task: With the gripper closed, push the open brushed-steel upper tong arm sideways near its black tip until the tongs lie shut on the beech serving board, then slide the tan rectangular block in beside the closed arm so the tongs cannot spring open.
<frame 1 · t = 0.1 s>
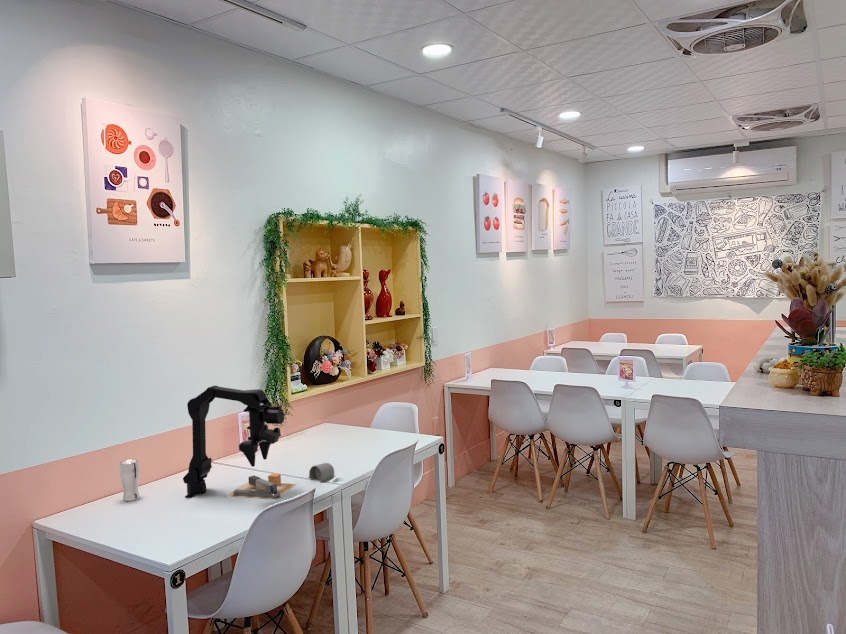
hand: (259, 462, 250), 15 cm above the table, tool pointing down, fingers open, 9 cm apart
ceramic mug: (319, 481, 272), on the table
tongs upper: (262, 483, 257), point 4 cm above the table, hinge at 30.0°
serving board: (262, 492, 259), on the table
tongs lower: (275, 496, 250), resting on serving board
tan rectangular block: (274, 479, 265), point 3 cm above the table, slide at 0.0 cm
beer glass: (131, 499, 257), on the table
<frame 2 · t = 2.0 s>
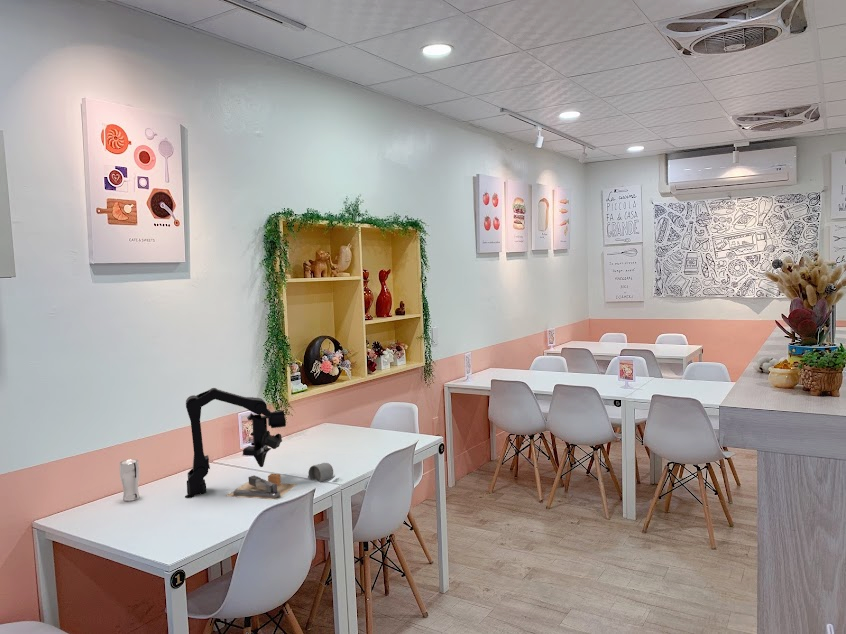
hand: (261, 466, 267), 8 cm above the table, tool pointing down, fingers closed
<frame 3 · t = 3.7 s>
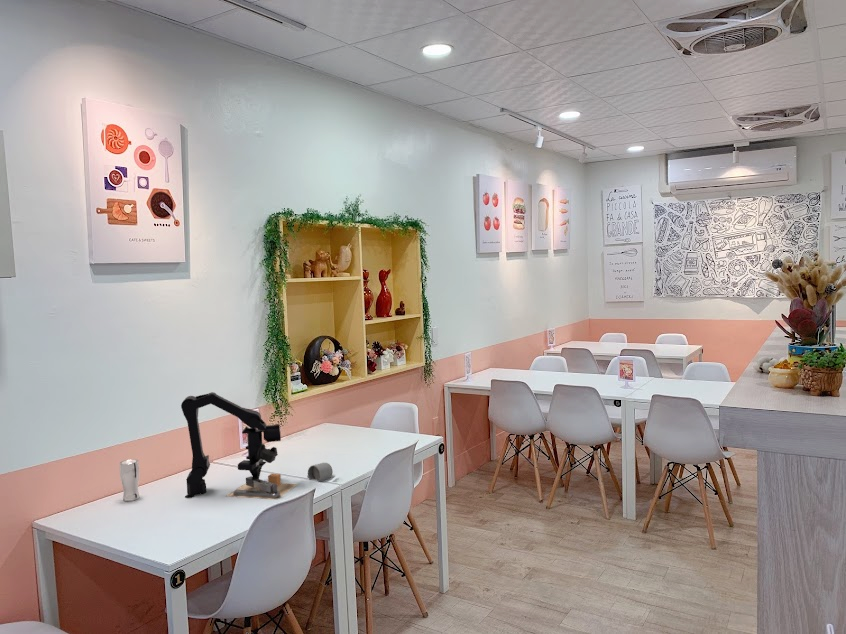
hand: (256, 480, 263), 4 cm above the table, tool pointing down, fingers closed
tongs upper: (260, 484, 256), point 4 cm above the table, hinge at 25.5°, touching gripper
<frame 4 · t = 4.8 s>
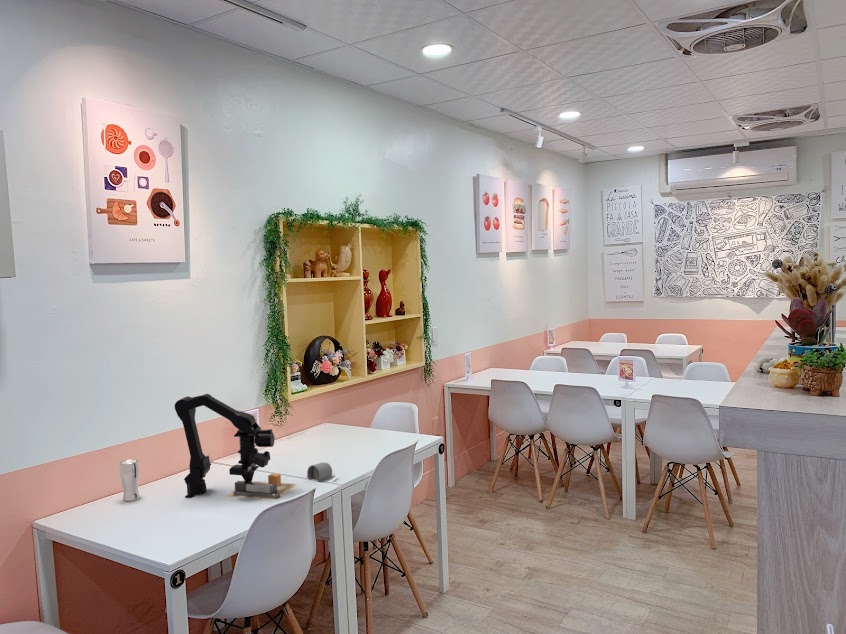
hand: (249, 485, 257), 4 cm above the table, tool pointing down, fingers closed
tongs upper: (254, 487, 253), point 4 cm above the table, hinge at 4.0°, touching gripper
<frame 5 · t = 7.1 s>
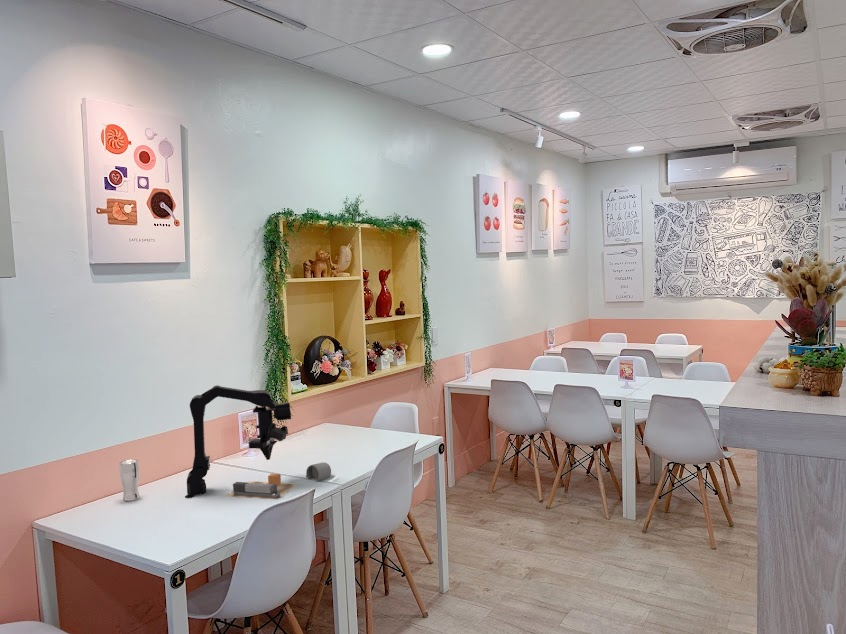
hand: (268, 459, 264), 12 cm above the table, tool pointing down, fingers closed
tongs upper: (253, 487, 252), point 4 cm above the table, hinge at -0.1°
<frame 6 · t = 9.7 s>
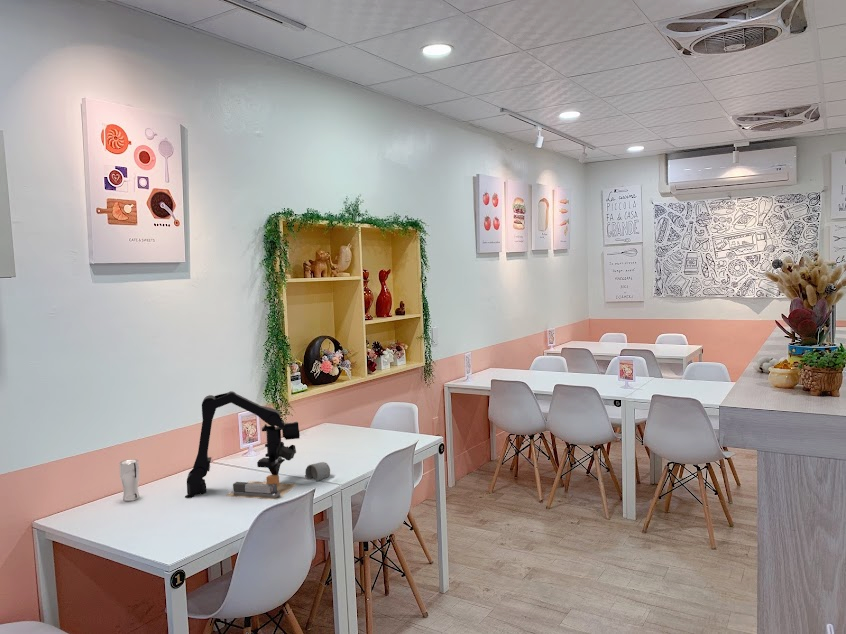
hand: (275, 478, 266), 4 cm above the table, tool pointing down, fingers closed
tan rectangular block: (272, 480, 263), point 3 cm above the table, slide at 1.5 cm, touching gripper
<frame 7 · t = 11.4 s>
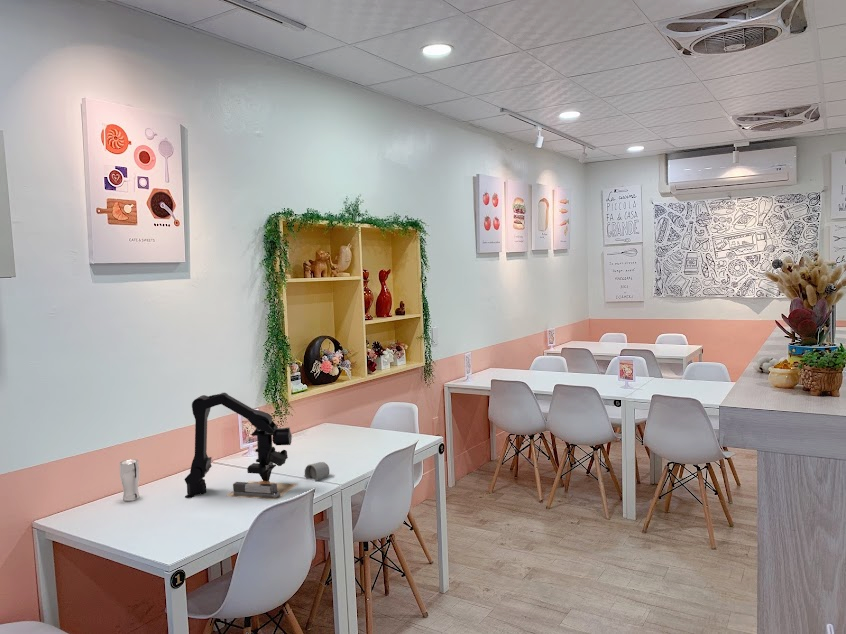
hand: (266, 484, 258), 4 cm above the table, tool pointing down, fingers closed
tan rectangular block: (263, 487, 256), point 3 cm above the table, slide at 9.1 cm, touching gripper
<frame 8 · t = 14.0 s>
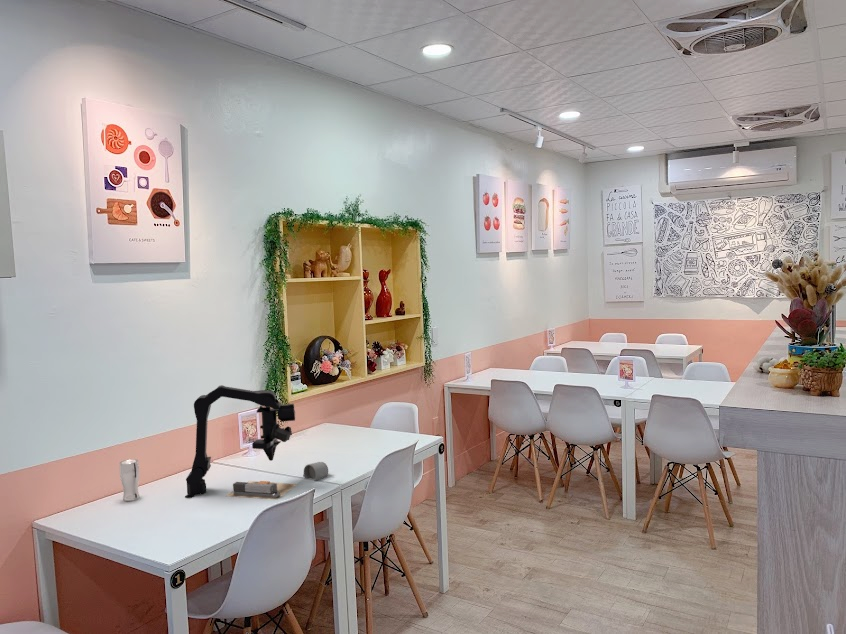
hand: (271, 460, 262), 12 cm above the table, tool pointing down, fingers closed
tan rectangular block: (263, 487, 256), point 3 cm above the table, slide at 9.2 cm
at the end: tongs upper at +0° (first picture: +30°); tan rectangular block slide at 9.2 cm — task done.
